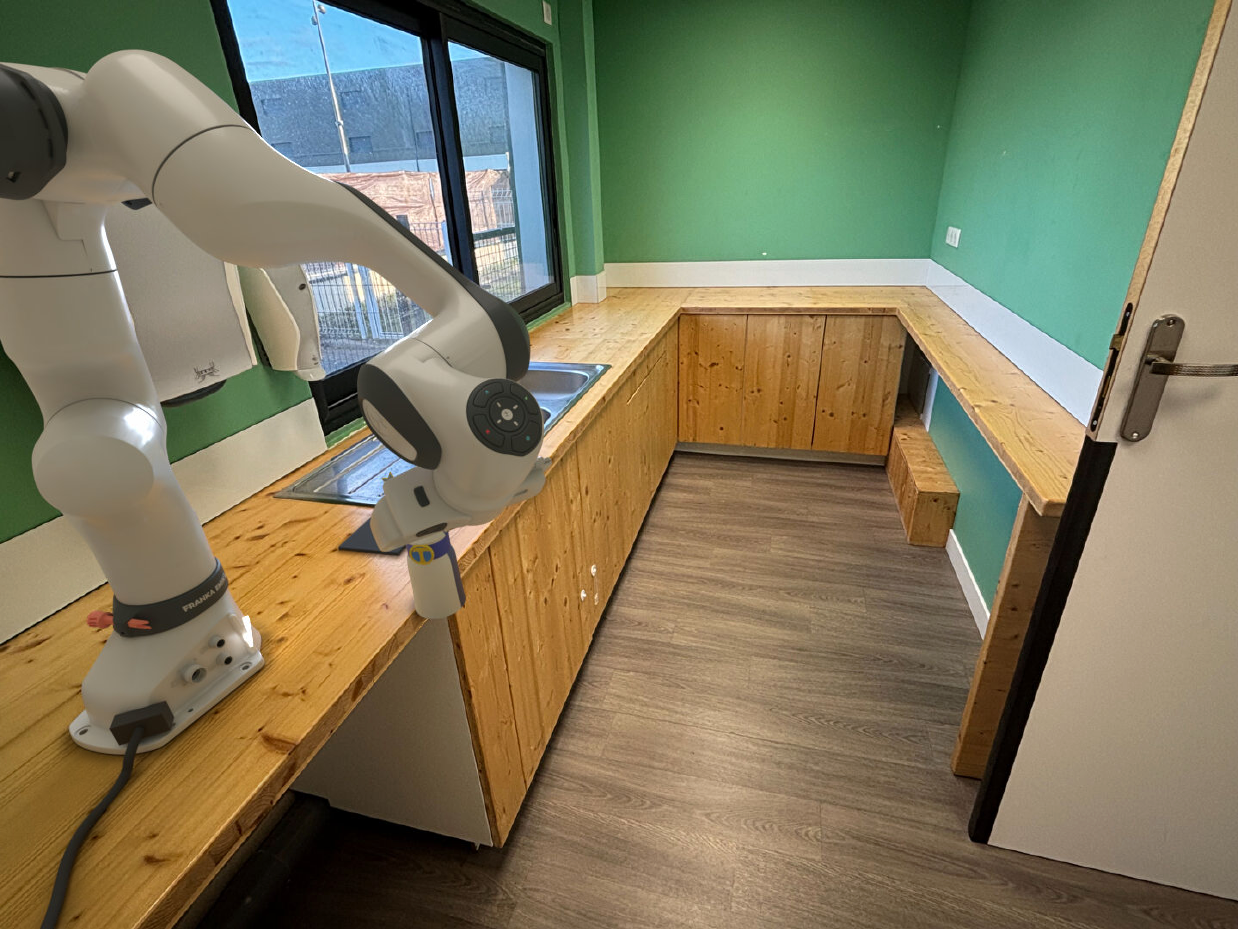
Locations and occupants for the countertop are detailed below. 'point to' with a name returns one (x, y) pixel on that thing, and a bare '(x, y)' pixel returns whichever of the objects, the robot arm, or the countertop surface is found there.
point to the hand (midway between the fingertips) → (452, 522)
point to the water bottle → (434, 575)
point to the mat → (365, 541)
